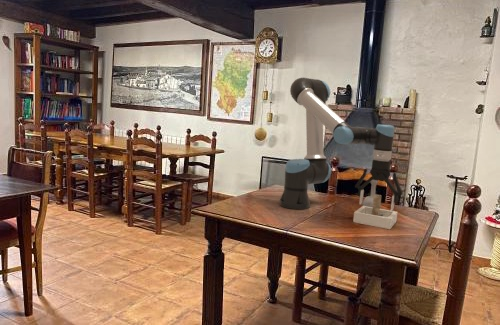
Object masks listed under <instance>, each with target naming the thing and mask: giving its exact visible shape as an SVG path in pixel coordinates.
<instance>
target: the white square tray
mask: <svg viewBox="0 0 500 325" xmlns="http://www.w3.org/2000/svg"><path fill="white" fill-rule="evenodd" d="M372 208H373V207H367V206H363V205H361V207H360V208H358V209H356V210H355V211H354V212H353V222H352V223H354V224H355V223H357V224H362V225H366V226H372V227H376V228H381V229H385V230H387V229H388V230H391V229H392V228H393V226H395V224H396V223H397V220H398V211H395V210H391V209H390V210H389V209H385V208H380V214H379V216H377V215H372Z"/></svg>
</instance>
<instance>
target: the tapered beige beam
mask: <svg viewBox="0 0 500 325" xmlns="http://www.w3.org/2000/svg"><path fill="white" fill-rule="evenodd" d="M381 202H382V195H381V194H375V195H374V199H373V208H372V215H377V216H379V214H380V209H381V207H380V205H381V206H382V203H381Z"/></svg>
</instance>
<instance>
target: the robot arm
mask: <svg viewBox="0 0 500 325" xmlns="http://www.w3.org/2000/svg"><path fill="white" fill-rule="evenodd" d="M289 89H290V91H289V92H290V96H291V98H292V99H293V100H294V101H295V102H296V103H297V104H298V105H299V106H302V107H303V108H304V109H305V120H306V122H305V123H306V124H305V125H306V130H305V131H306V134H305V135H306V155H305V156H304V157H303V158H293V159H290V160H289V159H288V160H287V162H286V164H285V168H284V171H285V172H284V186H283V192H282V193H281V195H280V196H281V197H280V199H279V206H281V207H283V208H287V209H290V210H305V209H306V210H307V209H309V208H310V207H311V206H310V204H311V202H310V198H309V193H308V187H309V186H308V185H315V184H317V185H318V184H322V183H325V182H327V181H328V180H329V179H330V177H331V174H332V167H331V165H330V163H329V162H328V160H327V157H326V156H325V153H324V127H325V128H326V129H327V130H329V131H330V133H332V136H333V140H334V141H335V142H336V143H337V144H340V145H370V146H373V152H372V153H373V154H372V158H373V159H372V160H371V161H372V163H371V164H372V165H371V169H368V168H364V170H363V172H362V175H361V176H360V177H359V179H358V181H357V182H356V184H355V185H354V188H355V189H357V190H358V194H357V196H358V197H359V205H361V206H362V205H363V201H364V193H365V190H364V188H365V187H366V186H368V184H369V183H371V181H372V180H373V179H374V180H376V181H378V182H385V184H386V185H387V186H388V188H389V189H390V191H391V193H393V195H391V205H390V211H394V208H395V207H394V206H395V204H396V203H398V197H399V196H402V195H403V193H404V192H403V190H402V187H401V185H400V184H401V183H400V182H399V179H398V173H397V172H391V160H392V154H393V144H394V138H395V126H394V125H391V124H377V125H376V127H375V128H372V127H364V126H351V125H349V123H347V122H346V121H345V120H344V119H343V118H342V117H341V116H340V115H339V114H337V113H336V112H335V111H334V110H332V108H330V106H328V105H327V104H326V103H327V101H328V100H329V98H330V95H331V89H330V86H329V85H328V83H327V82H326V81H324V80H321V79H316V78H307V77H300V78H297V79H295V80H294V81H293V82H292V83H291V86H290V88H289ZM369 174H370V175H371V176H370V177H369V178H368V179H367V180H366V181H365V182H364V183H362V182H363V181H364V179H365V178H366V176H367V175H369ZM390 176H391V178H392V179H393V181H394V184H395V186H394V185H393V184H392V182H391V181H390V178H389V177H390ZM395 187H396V188H395Z"/></svg>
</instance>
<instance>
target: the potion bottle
mask: <svg viewBox="0 0 500 325" xmlns="http://www.w3.org/2000/svg"><path fill="white" fill-rule="evenodd" d="M378 183H379V180H378V181H376V180H374V179H373V180H372V181H371V182H370V184H371V187H370V188H371V189H370V195H369V196H366V197H365V198H363V203H362V206H367V207H373V199H374V195H376V189H377V184H378ZM381 206H382V204H381V205H380V208H381Z"/></svg>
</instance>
